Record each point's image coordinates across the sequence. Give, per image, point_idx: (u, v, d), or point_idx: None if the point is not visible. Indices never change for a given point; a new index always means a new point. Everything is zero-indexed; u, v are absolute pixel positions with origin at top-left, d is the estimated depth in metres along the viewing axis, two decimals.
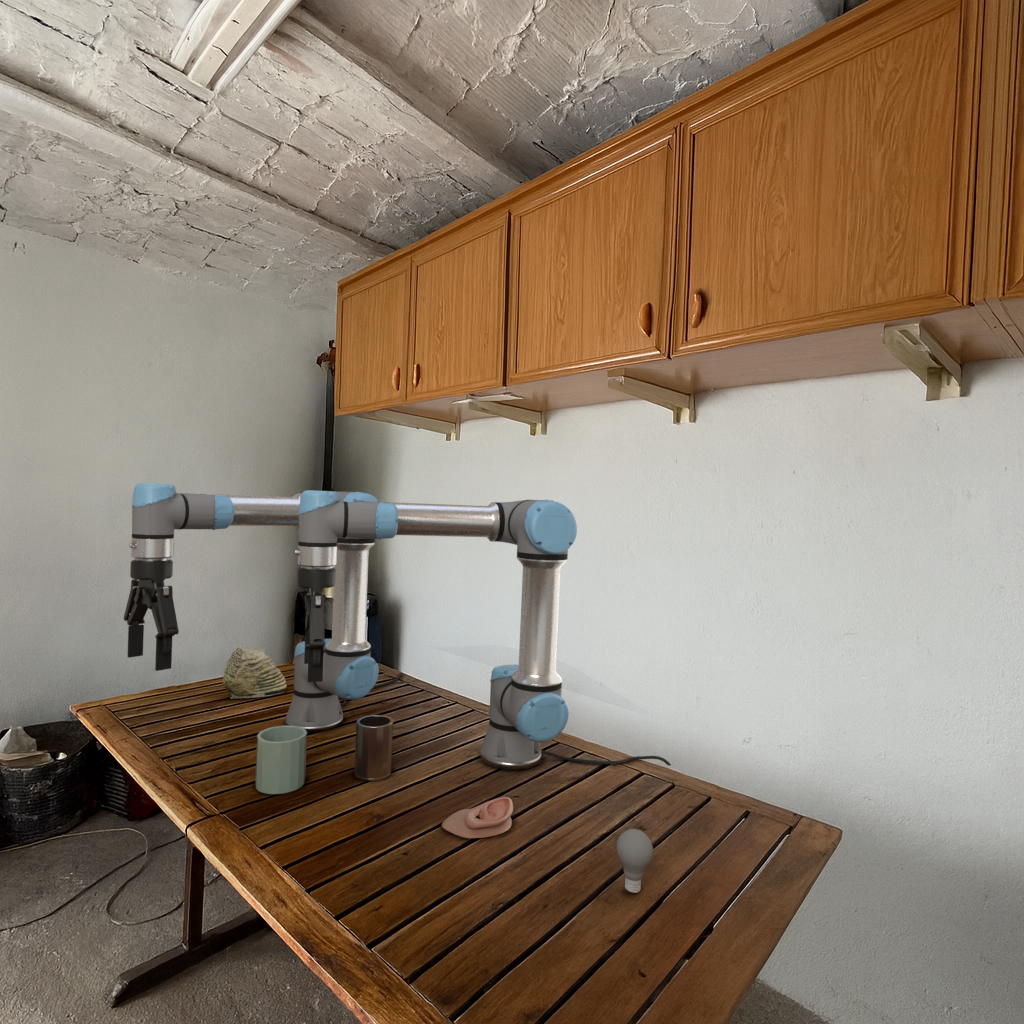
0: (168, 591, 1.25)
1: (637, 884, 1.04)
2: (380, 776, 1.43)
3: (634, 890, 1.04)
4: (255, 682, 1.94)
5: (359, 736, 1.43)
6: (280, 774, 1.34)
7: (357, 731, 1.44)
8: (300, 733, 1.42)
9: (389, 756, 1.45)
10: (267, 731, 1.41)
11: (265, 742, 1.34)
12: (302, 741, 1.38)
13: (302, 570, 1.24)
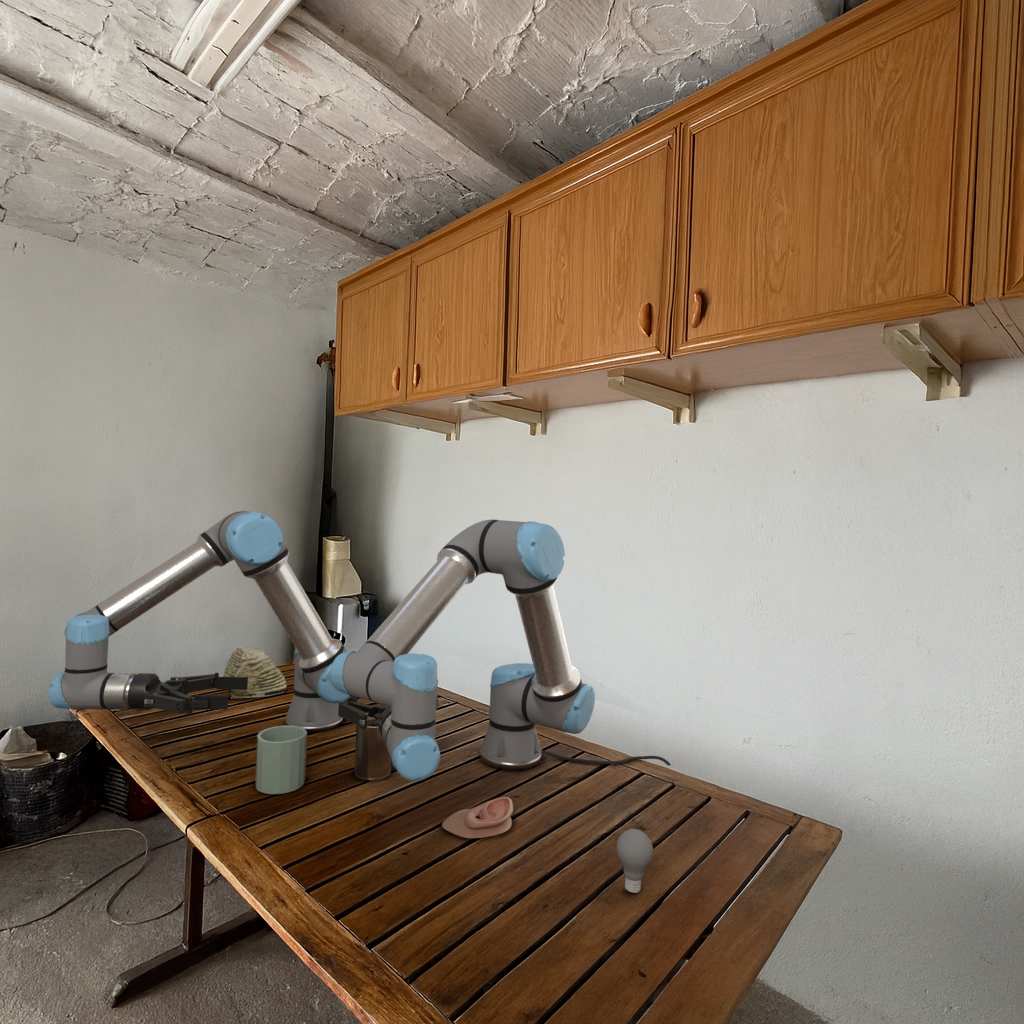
0: (148, 699, 1.29)
1: (637, 884, 1.04)
2: (380, 776, 1.43)
3: (634, 890, 1.04)
4: (255, 682, 1.94)
5: (359, 736, 1.43)
6: (280, 774, 1.34)
7: (357, 731, 1.44)
8: (300, 733, 1.42)
9: (389, 756, 1.45)
10: (267, 731, 1.41)
11: (265, 742, 1.34)
12: (302, 741, 1.38)
13: None
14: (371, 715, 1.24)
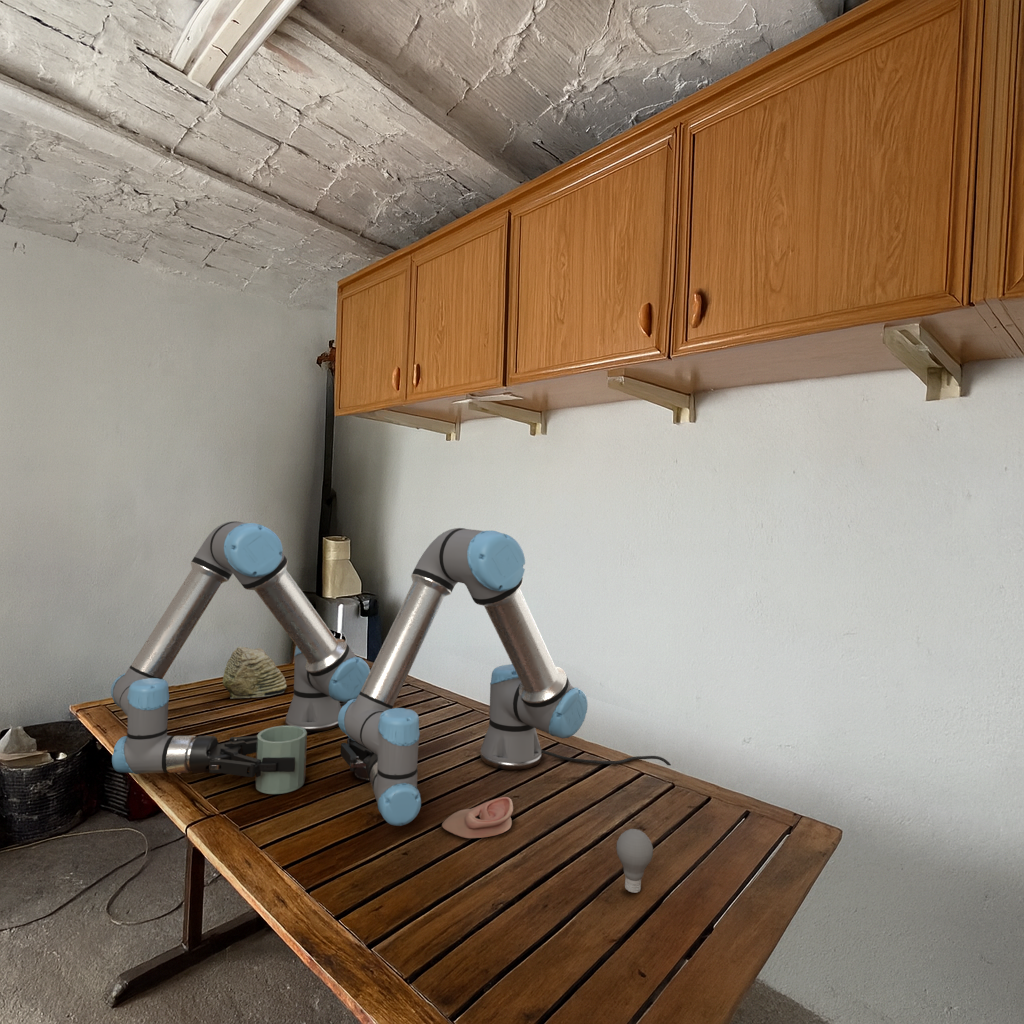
0: (214, 765, 1.31)
1: (637, 884, 1.04)
2: None
3: (634, 890, 1.04)
4: (255, 682, 1.94)
5: None
6: (280, 774, 1.34)
7: None
8: (300, 733, 1.42)
9: None
10: (267, 731, 1.41)
11: (265, 742, 1.34)
12: (302, 741, 1.38)
13: None
14: (364, 757, 1.37)
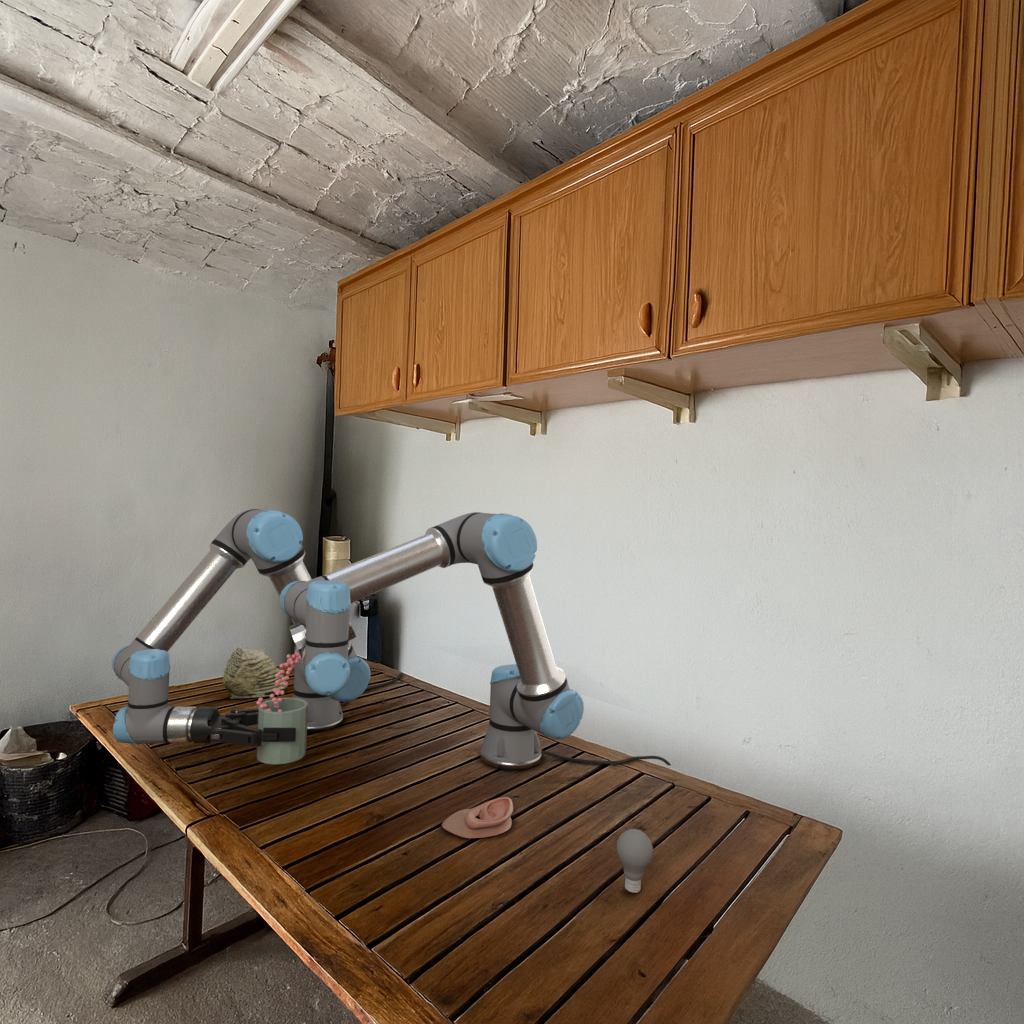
0: (215, 734, 1.31)
1: (637, 884, 1.04)
2: None
3: (634, 890, 1.04)
4: (255, 682, 1.94)
5: None
6: (281, 744, 1.34)
7: None
8: (301, 705, 1.42)
9: None
10: (268, 703, 1.41)
11: (266, 712, 1.34)
12: (303, 712, 1.37)
13: None
14: None
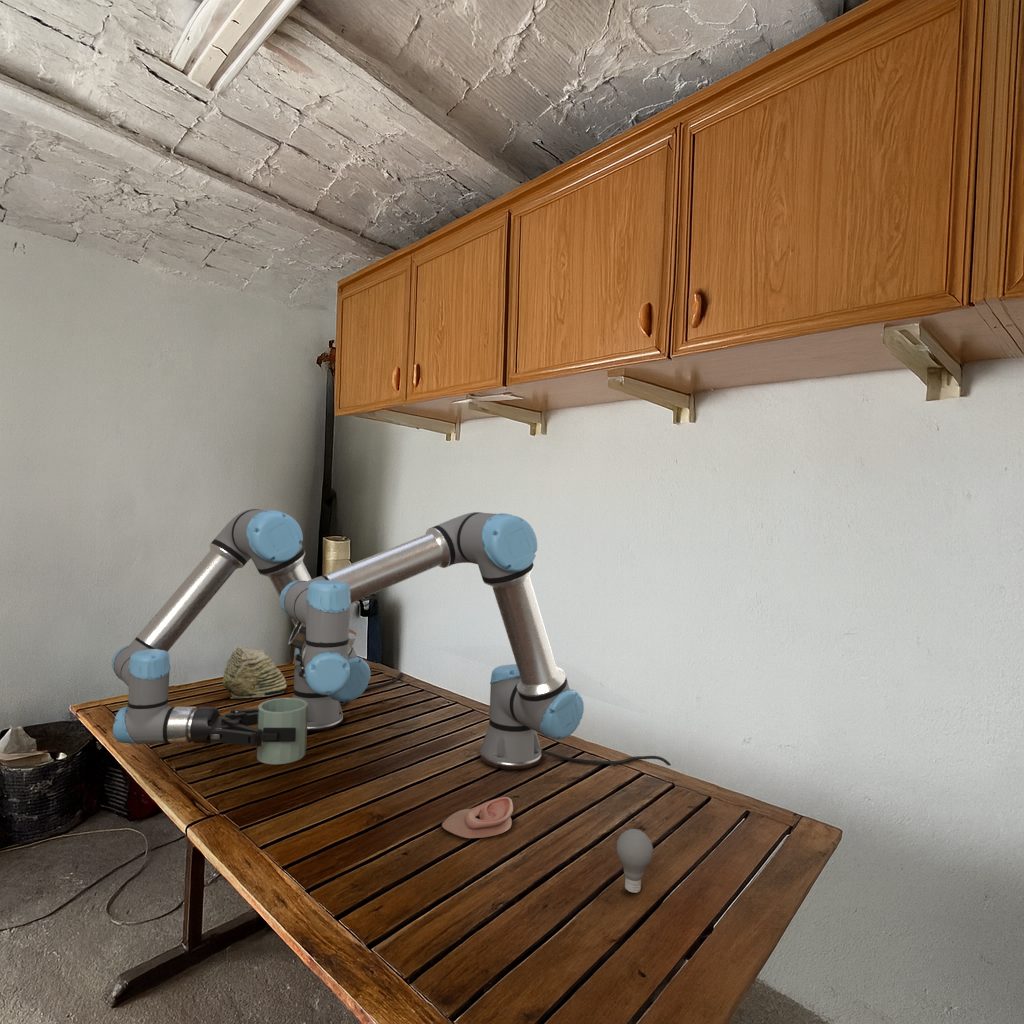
0: (215, 734, 1.31)
1: (637, 884, 1.04)
2: None
3: (634, 890, 1.04)
4: (255, 682, 1.94)
5: (301, 648, 1.38)
6: (281, 744, 1.34)
7: (296, 647, 1.39)
8: (301, 705, 1.42)
9: None
10: (268, 703, 1.41)
11: (266, 712, 1.34)
12: (303, 712, 1.37)
13: None
14: None
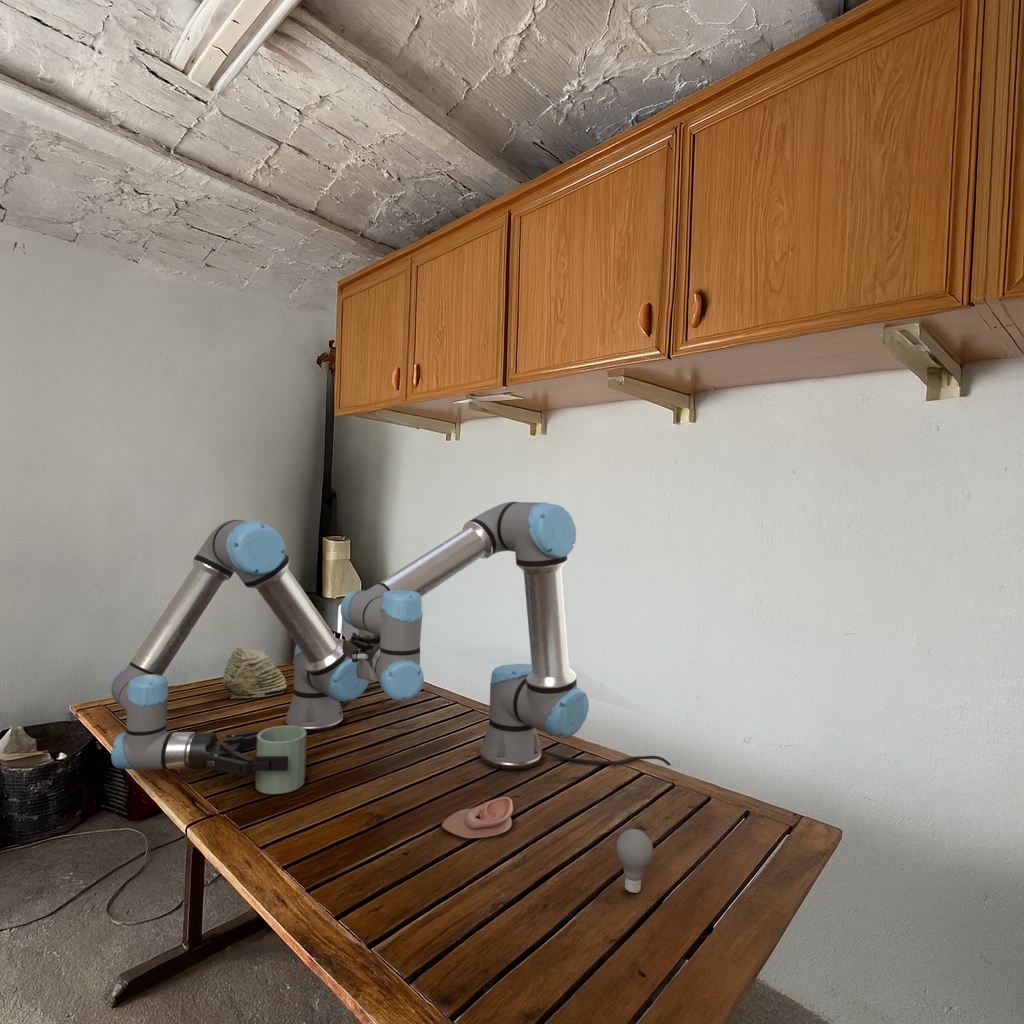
0: (210, 761, 1.31)
1: (637, 884, 1.04)
2: None
3: (634, 890, 1.04)
4: (255, 682, 1.94)
5: (361, 636, 1.42)
6: (280, 774, 1.34)
7: (359, 631, 1.43)
8: (300, 733, 1.42)
9: None
10: (267, 731, 1.41)
11: (265, 742, 1.34)
12: (302, 741, 1.38)
13: None
14: (366, 652, 1.36)
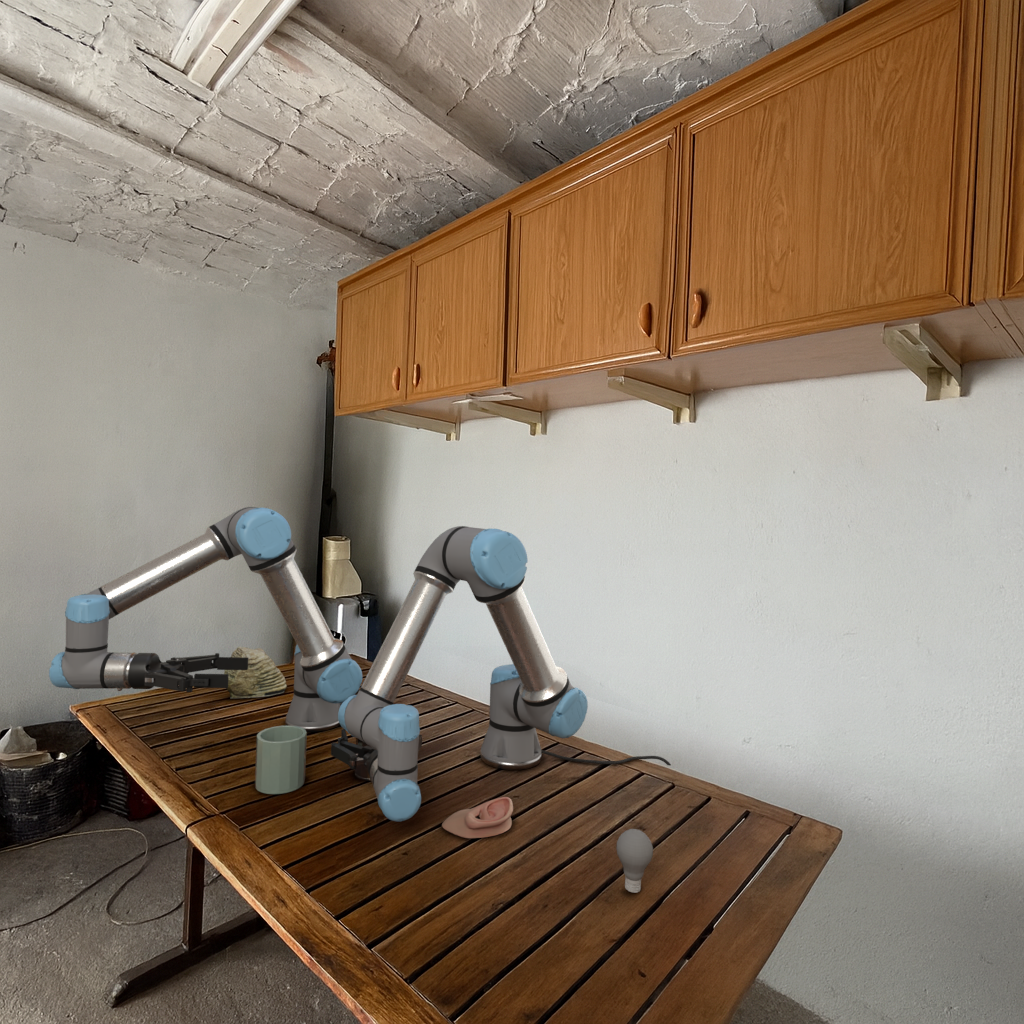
0: (148, 678, 1.29)
1: (637, 884, 1.04)
2: None
3: (634, 890, 1.04)
4: (255, 682, 1.94)
5: None
6: (280, 774, 1.34)
7: None
8: (300, 733, 1.42)
9: None
10: (267, 731, 1.41)
11: (265, 742, 1.34)
12: (302, 741, 1.38)
13: None
14: (361, 755, 1.36)
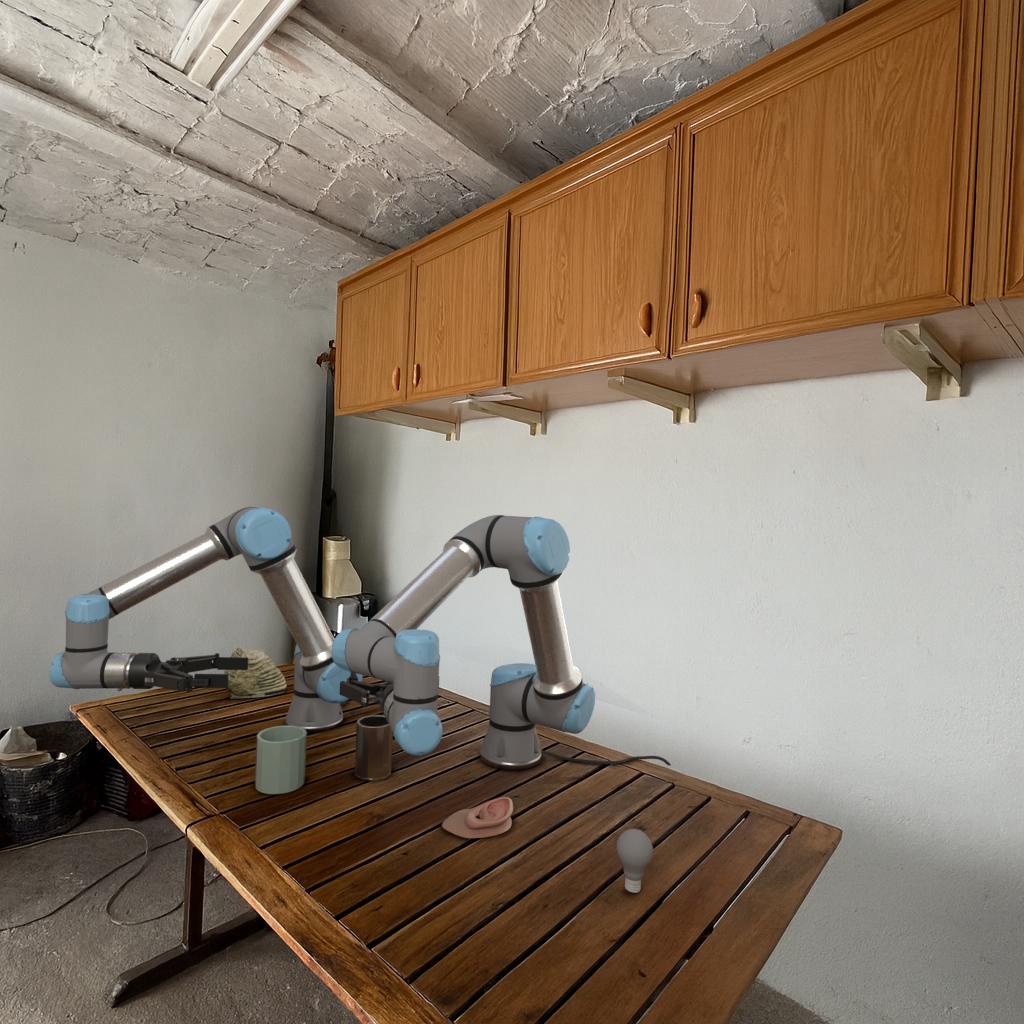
0: (148, 678, 1.29)
1: (637, 884, 1.04)
2: (380, 776, 1.43)
3: (634, 890, 1.04)
4: (255, 682, 1.94)
5: (359, 737, 1.43)
6: (280, 774, 1.34)
7: (357, 731, 1.44)
8: (300, 733, 1.42)
9: (389, 756, 1.45)
10: (267, 731, 1.41)
11: (265, 742, 1.34)
12: (302, 741, 1.38)
13: None
14: (372, 693, 1.24)
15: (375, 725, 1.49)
